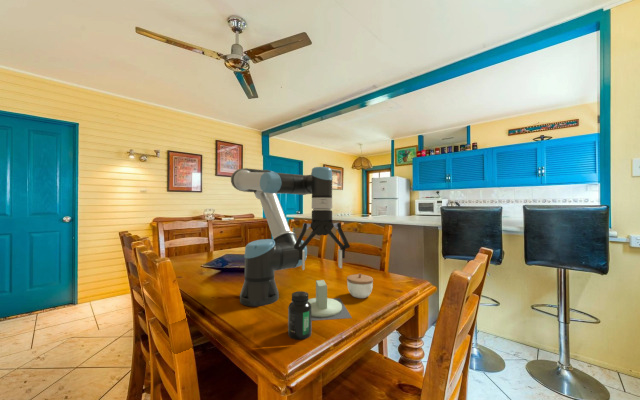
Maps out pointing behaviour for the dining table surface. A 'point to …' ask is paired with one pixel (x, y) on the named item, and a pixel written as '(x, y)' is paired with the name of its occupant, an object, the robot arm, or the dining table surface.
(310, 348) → the dining table surface
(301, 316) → the supplement bottle
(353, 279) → the lidded jar
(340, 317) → the mat
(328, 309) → the lid
